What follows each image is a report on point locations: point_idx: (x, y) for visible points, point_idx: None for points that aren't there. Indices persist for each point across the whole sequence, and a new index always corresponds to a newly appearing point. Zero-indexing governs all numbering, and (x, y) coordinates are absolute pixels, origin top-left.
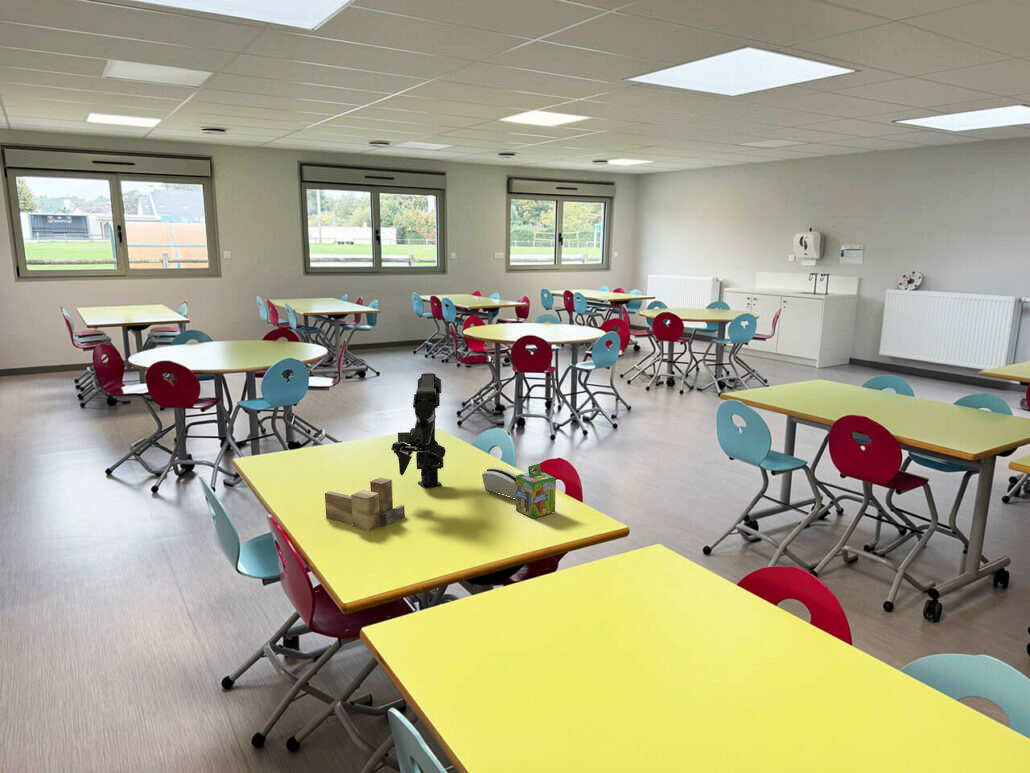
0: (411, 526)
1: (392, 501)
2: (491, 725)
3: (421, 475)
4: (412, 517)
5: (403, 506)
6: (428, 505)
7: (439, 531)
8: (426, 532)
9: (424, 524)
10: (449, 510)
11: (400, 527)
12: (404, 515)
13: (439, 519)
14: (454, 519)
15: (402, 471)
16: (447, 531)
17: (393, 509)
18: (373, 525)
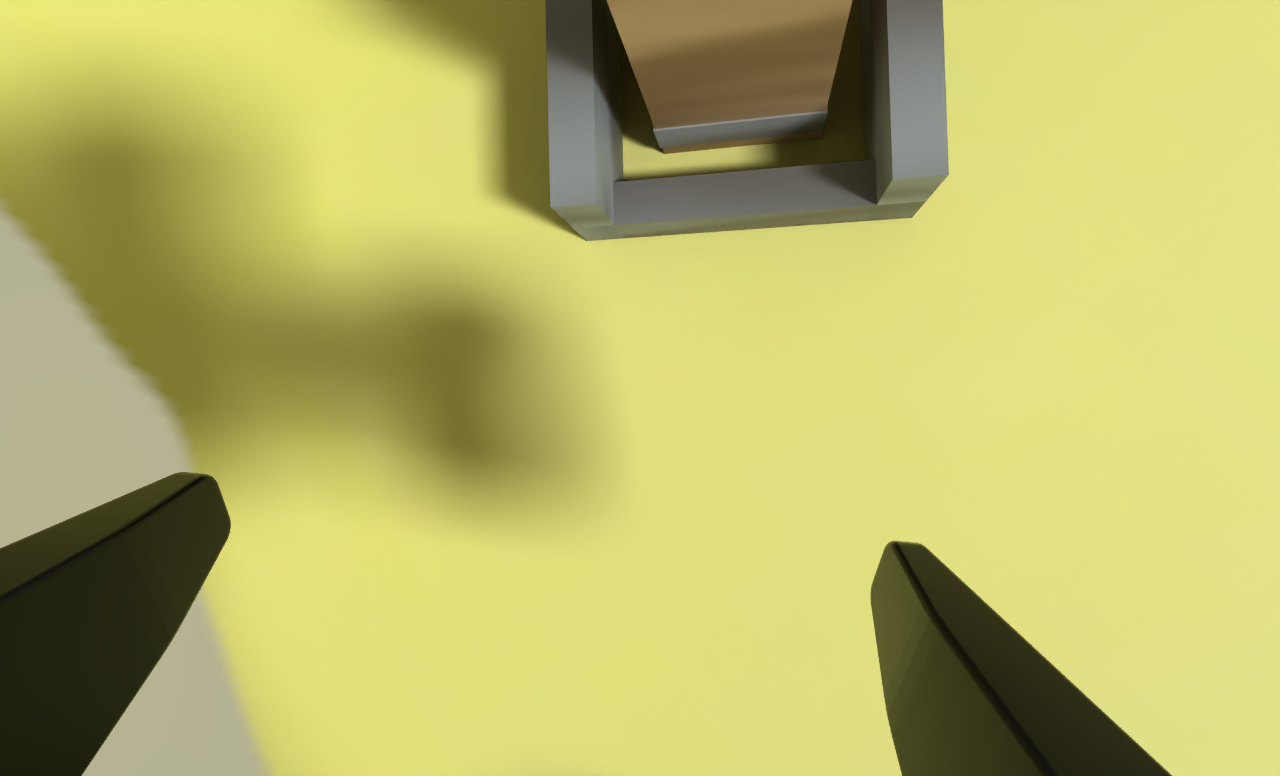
0: (386, 95)
1: (631, 64)
2: None
3: (190, 474)
4: (509, 264)
5: (551, 191)
6: (575, 608)
7: (145, 153)
8: (213, 75)
9: (322, 196)
10: (330, 590)
11: (451, 20)
12: (584, 235)
13: (283, 360)
14: (183, 429)
15: (902, 631)
16: (98, 190)
17: (574, 37)
18: None
